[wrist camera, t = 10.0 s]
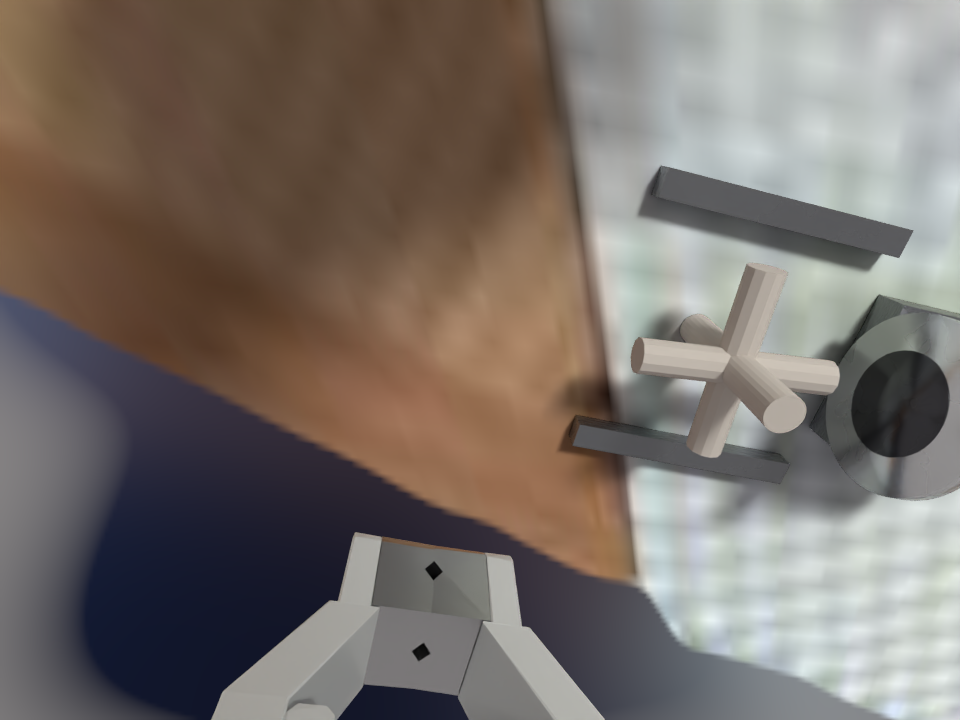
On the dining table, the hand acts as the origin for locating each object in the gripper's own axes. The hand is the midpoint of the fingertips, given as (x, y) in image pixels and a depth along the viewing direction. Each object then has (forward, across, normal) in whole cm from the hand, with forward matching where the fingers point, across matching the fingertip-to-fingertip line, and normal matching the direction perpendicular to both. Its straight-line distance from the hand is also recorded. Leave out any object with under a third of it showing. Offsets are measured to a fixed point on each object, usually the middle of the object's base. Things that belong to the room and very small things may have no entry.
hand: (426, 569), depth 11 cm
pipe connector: (+22, -15, 0) cm, 27 cm away
